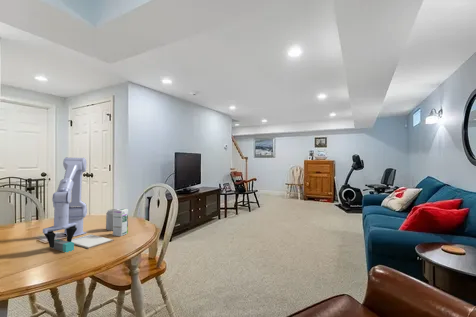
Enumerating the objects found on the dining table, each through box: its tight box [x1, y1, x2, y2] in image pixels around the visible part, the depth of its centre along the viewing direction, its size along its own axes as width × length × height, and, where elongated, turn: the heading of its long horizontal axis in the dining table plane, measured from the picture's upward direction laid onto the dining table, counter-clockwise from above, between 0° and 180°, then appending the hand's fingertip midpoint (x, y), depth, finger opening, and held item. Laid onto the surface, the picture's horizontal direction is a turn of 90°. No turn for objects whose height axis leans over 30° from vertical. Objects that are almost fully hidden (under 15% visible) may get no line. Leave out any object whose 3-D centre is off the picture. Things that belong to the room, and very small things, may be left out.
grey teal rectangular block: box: [52, 238, 75, 253], centre depth 118 cm, size 12×4×4 cm, turn 64°
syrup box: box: [112, 208, 129, 237], centre depth 143 cm, size 6×6×14 cm
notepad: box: [71, 234, 115, 250], centre depth 129 cm, size 19×14×1 cm
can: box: [105, 208, 117, 232], centre depth 153 cm, size 8×8×12 cm
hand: (60, 244), depth 119 cm, fingers open, 7 cm apart
